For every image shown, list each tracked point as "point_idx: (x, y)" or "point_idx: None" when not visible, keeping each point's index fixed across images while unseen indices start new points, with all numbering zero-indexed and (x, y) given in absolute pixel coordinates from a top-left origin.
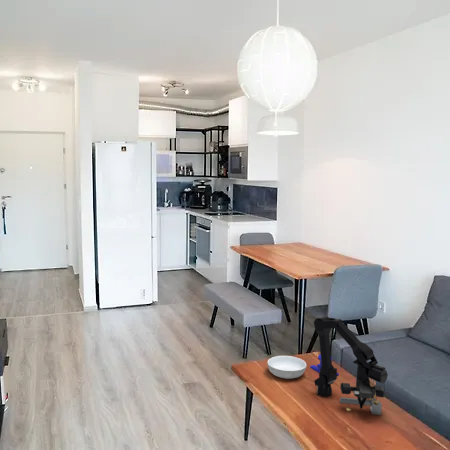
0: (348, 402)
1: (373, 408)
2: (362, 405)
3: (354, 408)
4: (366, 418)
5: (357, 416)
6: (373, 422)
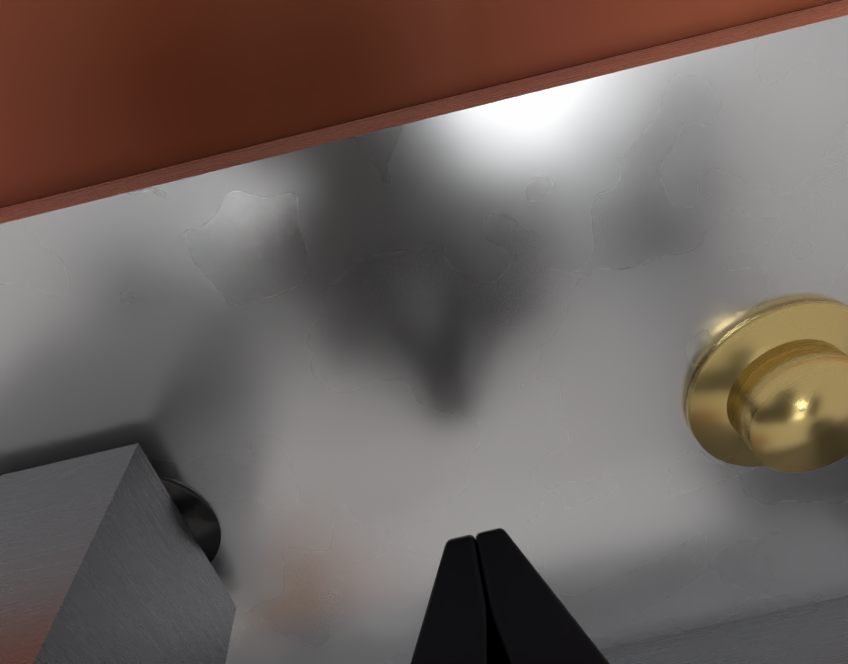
0: (739, 657)
1: (14, 612)
2: (446, 620)
3: None
4: None
5: None
6: (14, 97)
